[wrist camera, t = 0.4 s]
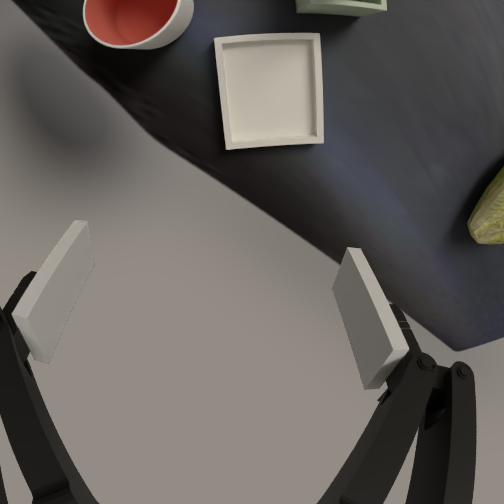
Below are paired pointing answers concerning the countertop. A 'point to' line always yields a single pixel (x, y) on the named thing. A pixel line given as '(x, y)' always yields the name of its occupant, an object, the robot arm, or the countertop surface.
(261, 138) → the dish
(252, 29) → the countertop surface
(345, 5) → the pen pot
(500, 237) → the lettuce
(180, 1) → the cup
